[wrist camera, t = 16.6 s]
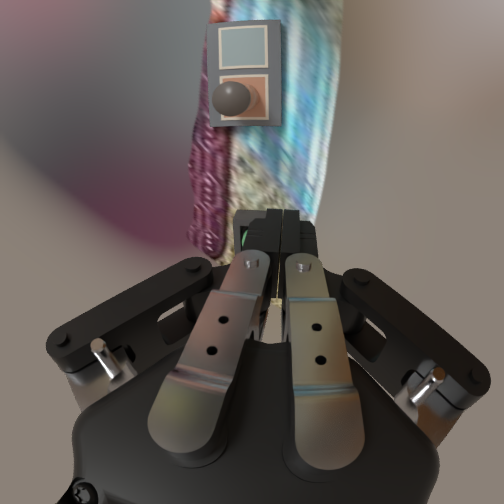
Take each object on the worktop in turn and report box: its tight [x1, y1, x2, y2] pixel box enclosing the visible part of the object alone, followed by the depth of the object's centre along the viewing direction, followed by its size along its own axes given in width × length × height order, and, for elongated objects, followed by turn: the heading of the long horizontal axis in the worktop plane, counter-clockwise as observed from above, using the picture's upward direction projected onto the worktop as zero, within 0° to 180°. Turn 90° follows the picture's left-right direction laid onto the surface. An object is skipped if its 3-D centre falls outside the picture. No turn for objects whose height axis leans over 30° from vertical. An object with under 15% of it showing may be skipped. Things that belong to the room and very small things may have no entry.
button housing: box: [233, 210, 267, 255], centre depth 44 cm, size 7×7×4 cm
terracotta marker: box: [212, 81, 259, 117], centre depth 29 cm, size 4×4×9 cm
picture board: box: [207, 20, 281, 127], centre depth 31 cm, size 16×10×1 cm, turn 1°
